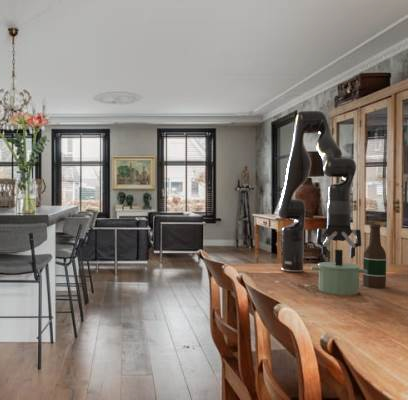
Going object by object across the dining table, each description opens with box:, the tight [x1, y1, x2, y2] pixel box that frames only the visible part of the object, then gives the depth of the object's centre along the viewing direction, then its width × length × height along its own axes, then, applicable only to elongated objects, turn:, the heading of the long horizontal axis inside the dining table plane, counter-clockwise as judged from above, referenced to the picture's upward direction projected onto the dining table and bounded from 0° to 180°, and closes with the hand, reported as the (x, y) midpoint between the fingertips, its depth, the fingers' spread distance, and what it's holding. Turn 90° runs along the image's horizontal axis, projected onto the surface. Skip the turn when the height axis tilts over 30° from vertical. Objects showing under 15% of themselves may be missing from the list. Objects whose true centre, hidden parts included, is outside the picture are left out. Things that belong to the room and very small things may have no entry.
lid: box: [317, 249, 361, 270], centre depth 159 cm, size 14×14×7 cm
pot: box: [310, 265, 367, 296], centre depth 159 cm, size 13×18×10 cm
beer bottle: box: [362, 223, 387, 289], centre depth 170 cm, size 8×8×24 cm
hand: (338, 257), depth 159 cm, fingers open, 8 cm apart
